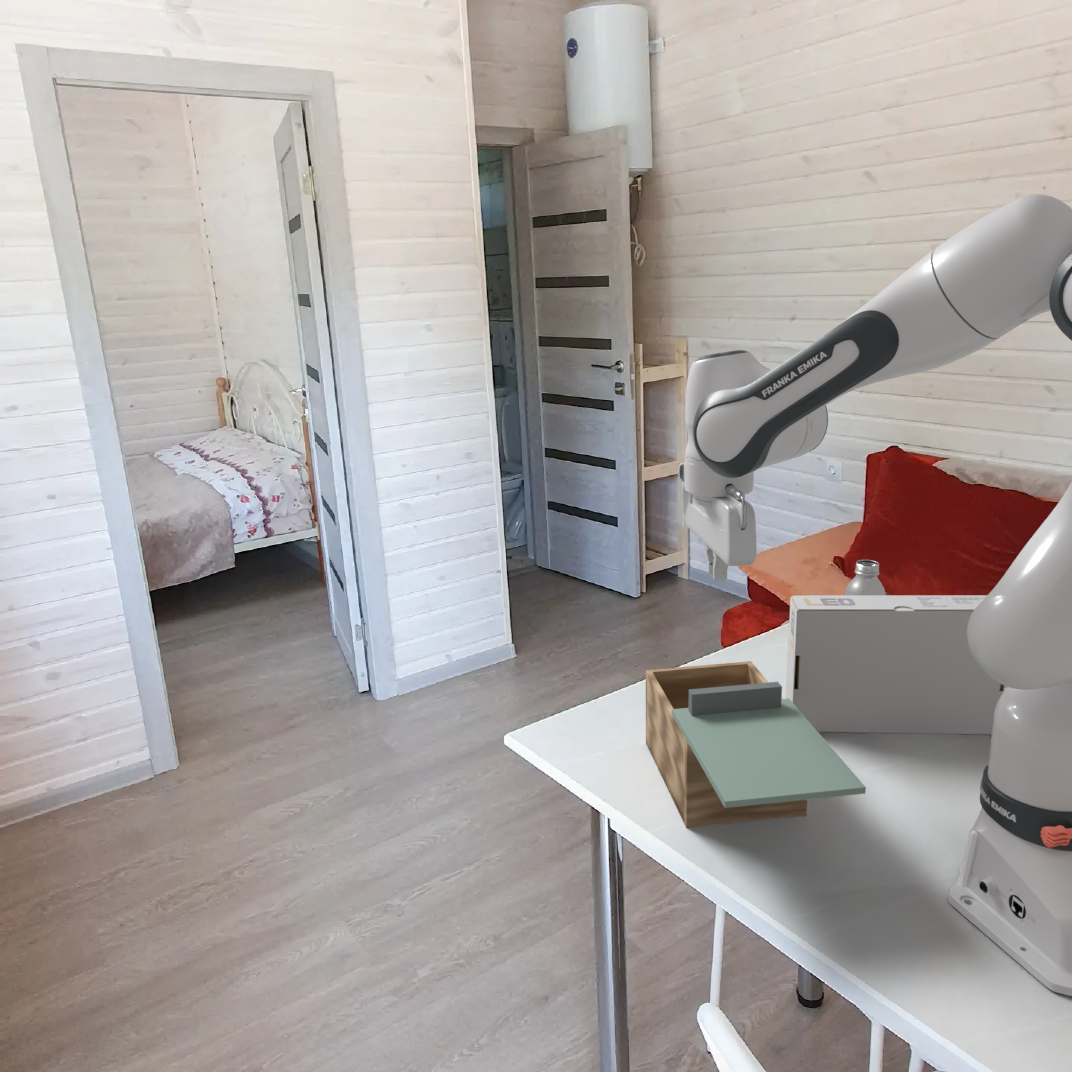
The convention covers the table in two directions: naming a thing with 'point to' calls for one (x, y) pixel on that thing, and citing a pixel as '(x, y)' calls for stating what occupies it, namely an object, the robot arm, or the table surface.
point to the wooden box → (677, 756)
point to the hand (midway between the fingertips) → (717, 577)
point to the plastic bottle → (865, 579)
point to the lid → (761, 747)
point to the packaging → (888, 665)
